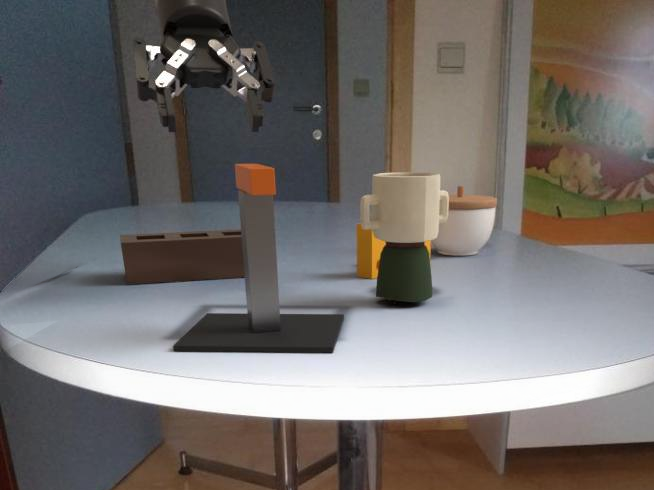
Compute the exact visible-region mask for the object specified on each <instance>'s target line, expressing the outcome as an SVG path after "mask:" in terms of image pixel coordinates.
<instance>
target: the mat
mask: <svg viewBox="0 0 654 490" xmlns="http://www.w3.org/2000/svg"><path fill="white" fill-rule="evenodd" d="M344 320H345V314H343V313H337V314H336V313H280V325H281V331H272V332H261V333H253V332H252V330H251V329H250V328H249V326H248V313H234V312H233V313H230V312H228V313H227V312H226V313H225V312H223V313H220V312H215V313H214V312H207V313H205V315H203V317H201V318H200V320H198V321H197V322H196V323H195V324H194V325H193V326H192V327H191V328H190V329H189V330H188V331H187V332H186V333H184V335H183V336H181V337H180V339H179V340H177V341H176V342H175V343H174V344H173V345H172V349H173V352H218V353H219V352H221V353H222V352H223V353H225V352H226V353H227V352H230V353H234V352H235V353H311V354H312V353H316V354H317V353H319V354H320V353H323V354H326V353H327V354H329V353H330V354H333V353H334V351H335V349H336V348H335V347H336V345H337V341H338V338H339V336H340V332H341V329H342V327H343V323H344Z"/></svg>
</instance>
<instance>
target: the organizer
mask: <svg viewBox="0 0 654 490" xmlns="http://www.w3.org/2000/svg"><path fill="white" fill-rule="evenodd" d="M119 240H120V248H121V254H122V260H123V269H124V274H125V275H124V276H125V280H126V285H127V286H131V284H134V285H146V284H145V283H150V284H158V283H157V282H166V283H174V282H173V281H181V282H193V281H192V280H197V281H206V280H205V279H212V280H224V279H223V278H228V279H238V278H239V279H243V278H242V277H244V278H245V275H244V262H243V249H242V236H241V228H239V229H238V228H237V229H219V230H198V231H197V230H195V231H175V232H154V233H153V232H151V233H131V234H120V235H119ZM171 281H172V282H171Z"/></svg>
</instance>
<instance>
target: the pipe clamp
mask: <svg viewBox="0 0 654 490" xmlns="http://www.w3.org/2000/svg"><path fill="white" fill-rule="evenodd" d="M385 245H386V242H385V241H382V240H379V239H377V238H375V236H374V234H373V231H372V229H369V230H365V229H362V226H361V223H360V222H359V223H356V277H357V278H363V279H370V280H375V279H377V276H378V269H379V262H380V254H381V252H382V249H383V247H384V246H385ZM424 245H425V246H427V249H428V251H429V257H430V258H431V251H432V250H431V249H432V247H431V246H432V243H431V240H430V241H426V242H424Z"/></svg>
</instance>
